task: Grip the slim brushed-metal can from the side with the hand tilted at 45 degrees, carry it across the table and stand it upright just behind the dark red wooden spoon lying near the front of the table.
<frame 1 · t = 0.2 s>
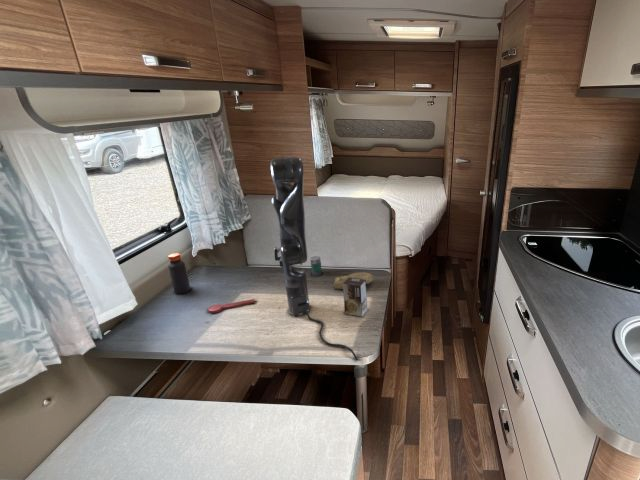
hand: (291, 265, 163), 17 cm above the table, tool pointing down, fingers open, 8 cm apart
bottle: (182, 290, 172), on the table
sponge: (354, 286, 180), on the table
spoon: (229, 306, 159), on the table
can: (316, 273, 192), on the table
coffee box: (356, 312, 158), on the table
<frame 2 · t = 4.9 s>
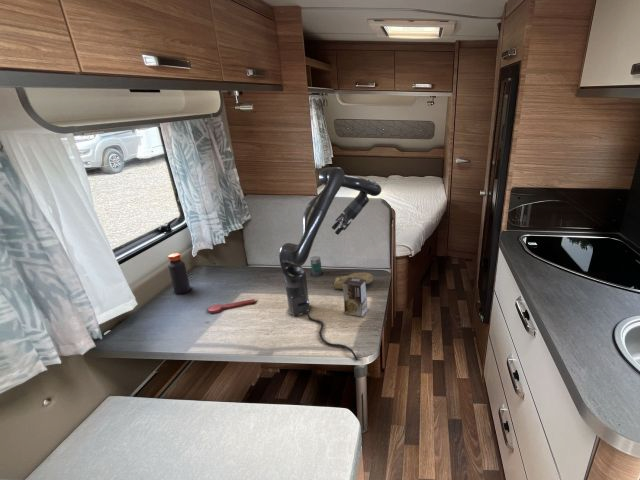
hand: (334, 231, 189), 24 cm above the table, tool tilted 45°, fingers open, 8 cm apart
nothing on the table moved.
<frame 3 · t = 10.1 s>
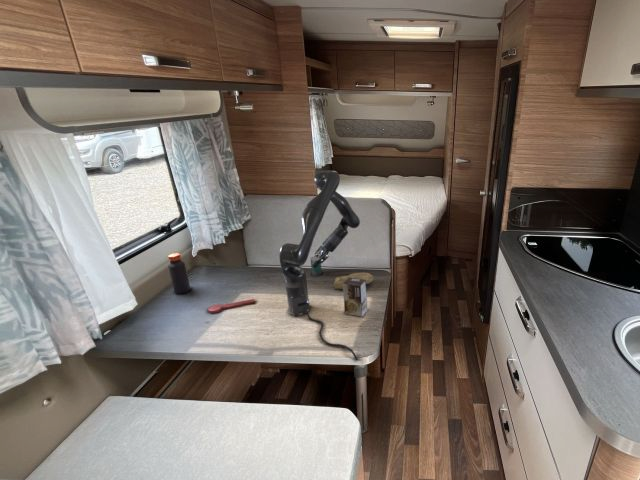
hand: (312, 264, 189), 6 cm above the table, tool tilted 45°, fingers closed on can, 5 cm apart
can: (316, 273, 192), on the table, touching gripper
everything else where it was.
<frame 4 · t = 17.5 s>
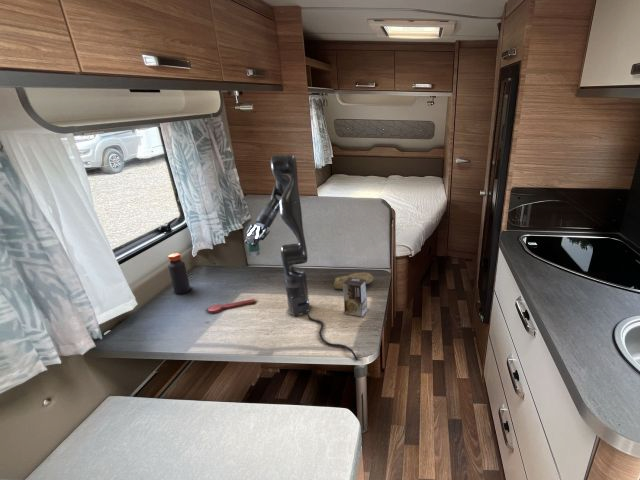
hand: (249, 244, 172), 23 cm above the table, tool tilted 45°, fingers closed on can, 5 cm apart
can: (254, 254, 176), point 17 cm above the table, touching gripper
everything else where it was.
when the fingers open (6 cm above the table, at t = 25.0 s): can stays where it is, on the table.
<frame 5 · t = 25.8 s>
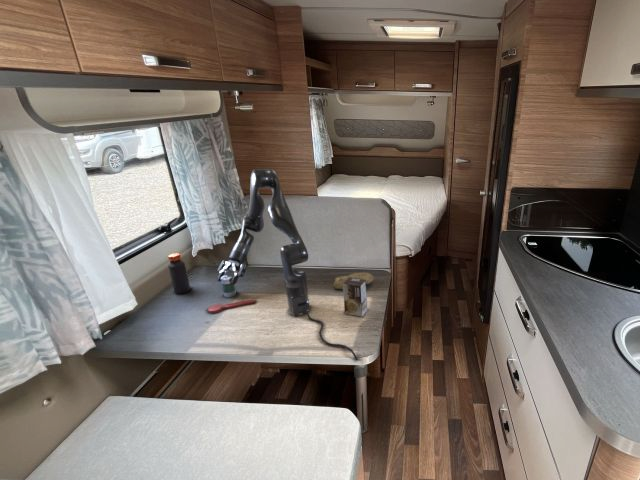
hand: (225, 282, 166), 8 cm above the table, tool tilted 45°, fingers open, 8 cm apart
can: (230, 294, 169), on the table
everything else where it was.
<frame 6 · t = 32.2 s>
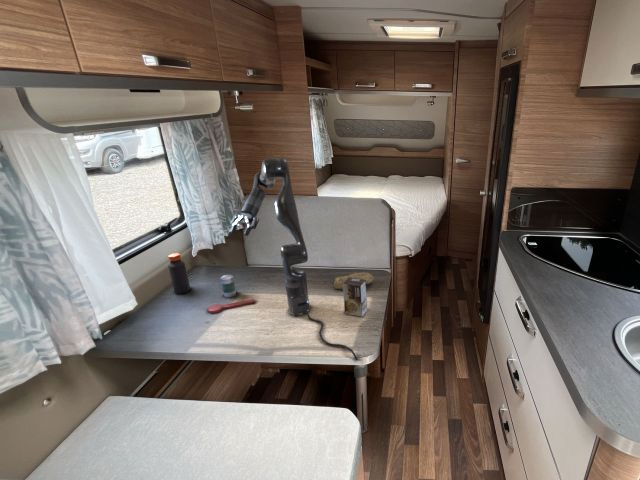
hand: (238, 234, 170), 29 cm above the table, tool tilted 45°, fingers open, 8 cm apart
nothing on the table moved.
at the end: can inside the target area on the table beside the spoon (2.0 cm from its centre), on the table; can tilted 0°; the gripper is holding nothing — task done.
